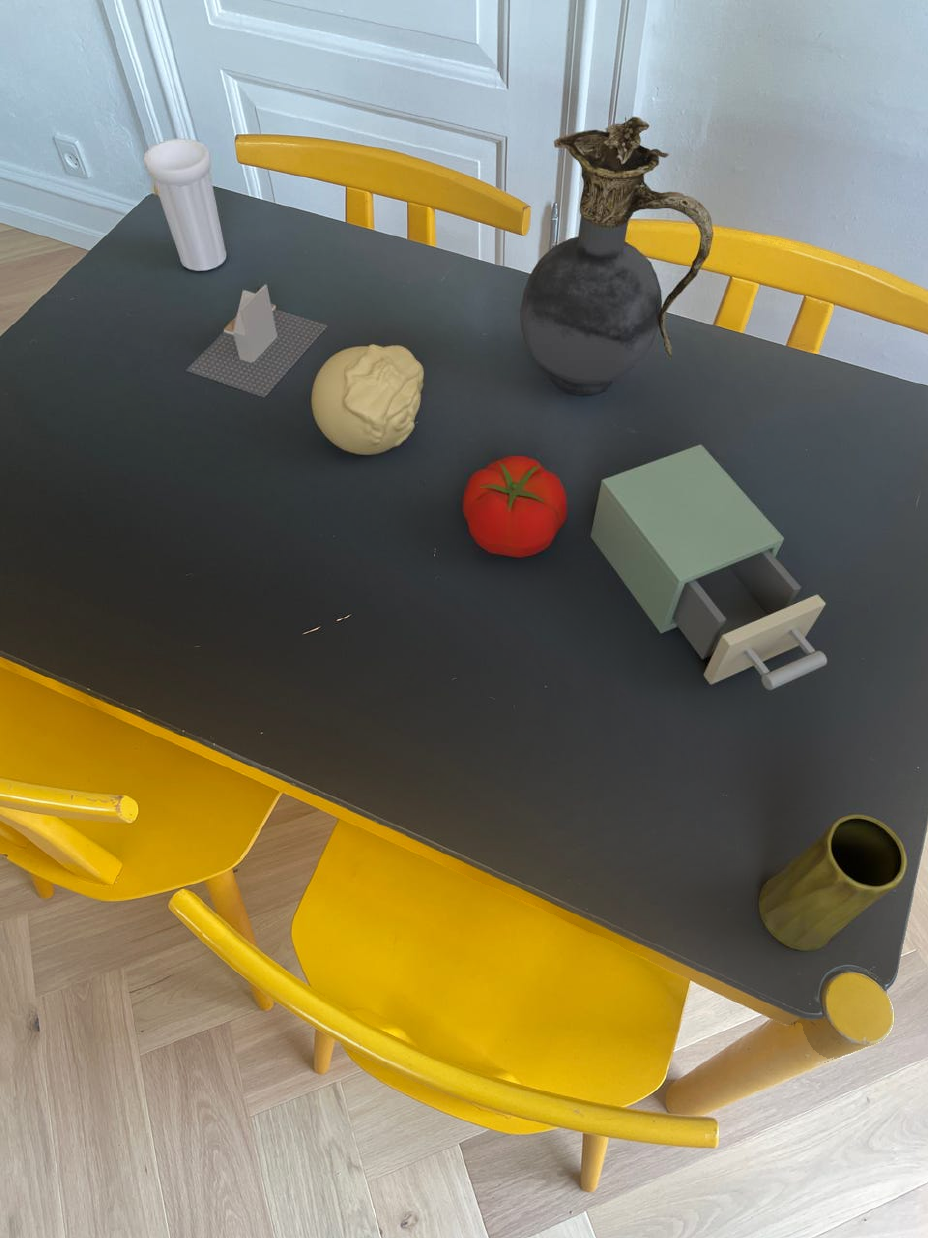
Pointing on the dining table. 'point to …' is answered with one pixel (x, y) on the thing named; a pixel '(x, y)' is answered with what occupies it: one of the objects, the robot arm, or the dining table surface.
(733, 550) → the cabinet
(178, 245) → the cup
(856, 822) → the vase
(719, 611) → the drawer
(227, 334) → the architectural model
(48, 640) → the dining table surface
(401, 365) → the sculpture
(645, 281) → the pitcher
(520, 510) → the tomato
